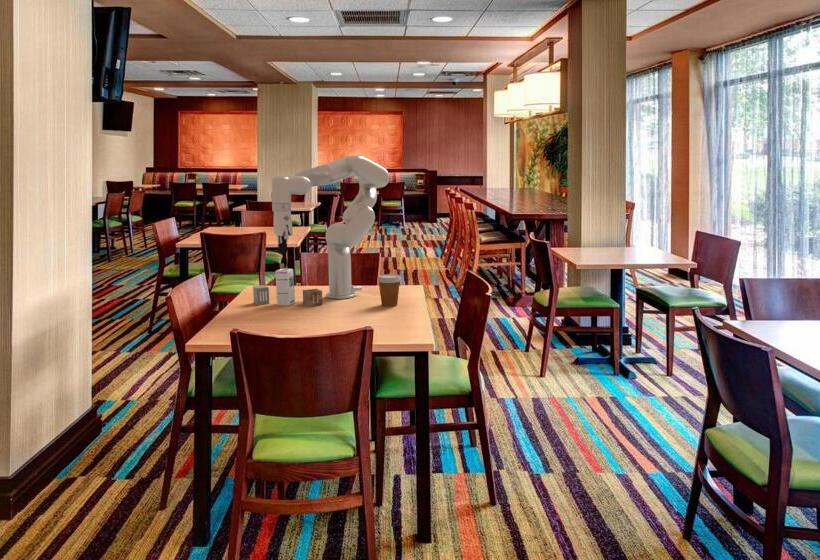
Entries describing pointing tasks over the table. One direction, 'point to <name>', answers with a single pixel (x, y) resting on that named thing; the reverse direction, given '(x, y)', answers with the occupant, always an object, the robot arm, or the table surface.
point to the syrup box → (285, 287)
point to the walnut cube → (312, 297)
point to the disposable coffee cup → (389, 289)
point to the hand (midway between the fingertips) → (282, 252)
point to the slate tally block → (261, 295)
